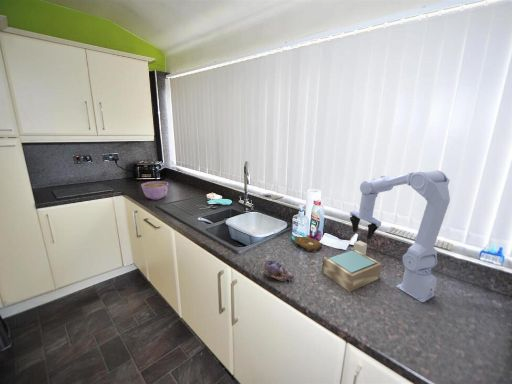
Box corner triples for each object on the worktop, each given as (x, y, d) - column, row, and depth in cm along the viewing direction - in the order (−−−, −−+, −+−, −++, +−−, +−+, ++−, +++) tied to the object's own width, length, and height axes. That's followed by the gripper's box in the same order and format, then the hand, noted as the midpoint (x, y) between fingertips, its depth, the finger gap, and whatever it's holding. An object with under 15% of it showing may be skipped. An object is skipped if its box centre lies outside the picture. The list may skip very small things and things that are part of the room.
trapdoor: (328, 260, 96) (328, 258, 96) (351, 252, 103) (352, 250, 103) (350, 274, 87) (351, 272, 87) (375, 265, 94) (375, 262, 93)
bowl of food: (174, 198, 189) (173, 184, 186) (149, 203, 175) (147, 188, 172) (162, 193, 202) (161, 180, 199) (138, 197, 188) (136, 183, 185)
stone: (365, 254, 112) (367, 244, 111) (359, 256, 110) (361, 245, 109) (358, 250, 116) (359, 240, 114) (352, 252, 114) (354, 242, 112)
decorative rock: (286, 244, 121) (311, 256, 111) (287, 237, 120) (312, 249, 110) (300, 236, 129) (324, 247, 119) (300, 229, 128) (325, 240, 117)
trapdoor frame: (321, 271, 98) (323, 257, 96) (350, 261, 106) (352, 247, 104) (349, 291, 86) (352, 276, 84) (379, 278, 94) (382, 263, 93)
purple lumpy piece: (296, 278, 94) (297, 264, 92) (287, 288, 87) (288, 274, 86) (270, 267, 100) (270, 254, 98) (260, 276, 94) (260, 263, 92)
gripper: (387, 211, 102) (381, 239, 106) (358, 201, 114) (354, 227, 118) (377, 213, 99) (372, 243, 103) (348, 203, 111) (344, 230, 115)
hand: (362, 234), depth 110 cm, fingers open, 7 cm apart
